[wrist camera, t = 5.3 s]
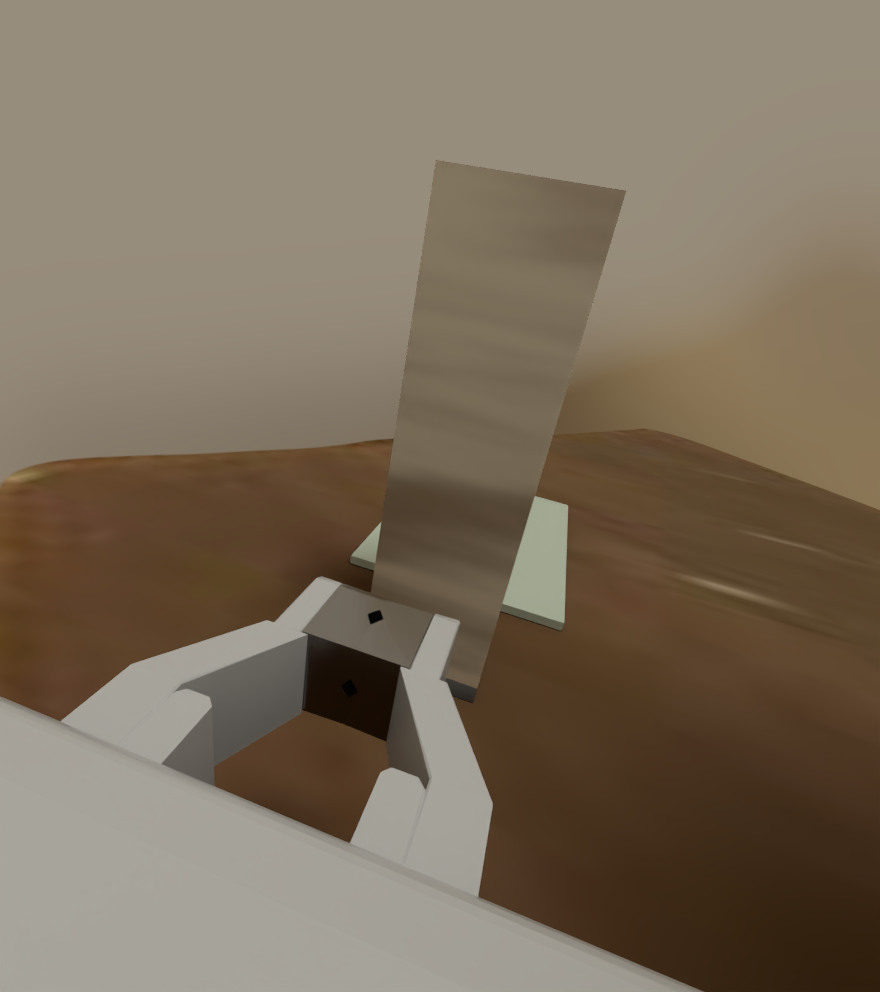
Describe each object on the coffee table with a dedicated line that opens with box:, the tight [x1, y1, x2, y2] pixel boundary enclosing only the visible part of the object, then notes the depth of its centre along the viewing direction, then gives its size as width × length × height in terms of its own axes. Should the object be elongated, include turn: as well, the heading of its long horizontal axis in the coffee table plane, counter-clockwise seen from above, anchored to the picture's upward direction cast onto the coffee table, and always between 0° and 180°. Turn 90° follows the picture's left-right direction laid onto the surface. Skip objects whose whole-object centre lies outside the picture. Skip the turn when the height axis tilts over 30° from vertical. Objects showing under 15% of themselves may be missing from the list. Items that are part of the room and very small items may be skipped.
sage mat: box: [350, 496, 568, 631], centre depth 32 cm, size 16×12×1 cm
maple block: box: [371, 160, 626, 703], centre depth 18 cm, size 5×5×18 cm
